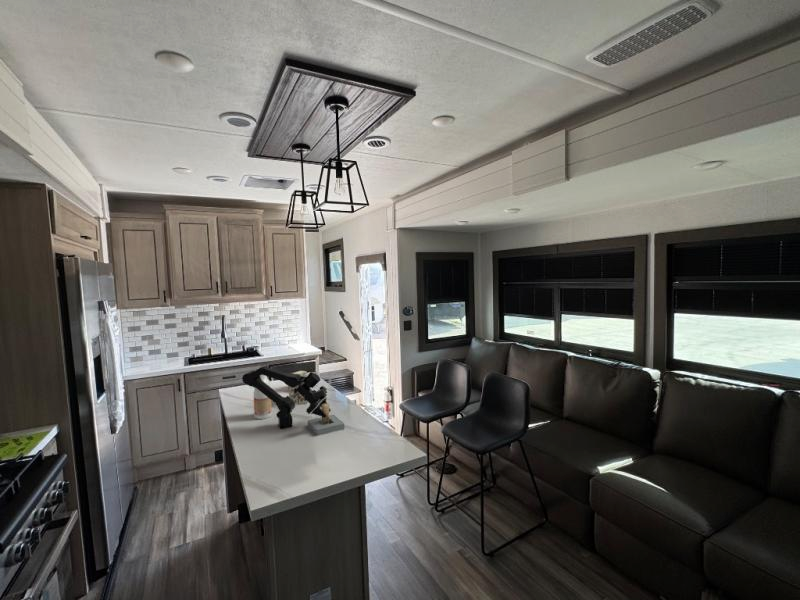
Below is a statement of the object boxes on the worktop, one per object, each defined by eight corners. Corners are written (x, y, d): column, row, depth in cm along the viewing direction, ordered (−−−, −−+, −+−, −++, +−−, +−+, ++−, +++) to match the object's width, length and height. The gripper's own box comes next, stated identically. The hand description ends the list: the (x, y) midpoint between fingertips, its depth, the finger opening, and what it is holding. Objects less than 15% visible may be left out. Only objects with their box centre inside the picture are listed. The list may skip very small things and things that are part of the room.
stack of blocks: (311, 383, 280) (311, 367, 279) (317, 385, 277) (316, 368, 276) (288, 391, 263) (287, 374, 262) (293, 392, 259) (293, 375, 258)
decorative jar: (288, 405, 234) (287, 377, 232) (289, 399, 245) (288, 372, 244) (308, 403, 237) (307, 376, 235) (308, 397, 248) (307, 371, 247)
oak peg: (325, 429, 197) (325, 406, 196) (320, 427, 200) (319, 405, 199) (331, 426, 201) (330, 404, 200) (325, 425, 203) (325, 402, 202)
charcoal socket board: (317, 435, 190) (317, 430, 190) (307, 425, 203) (307, 420, 202) (344, 428, 198) (344, 423, 198) (333, 419, 211) (333, 414, 210)
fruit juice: (262, 420, 210) (260, 372, 208) (250, 417, 215) (248, 370, 213) (275, 414, 219) (273, 368, 217) (263, 412, 223) (261, 366, 221)
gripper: (311, 388, 190) (333, 410, 189) (322, 378, 208) (342, 398, 208) (297, 403, 191) (318, 424, 191) (309, 391, 210) (329, 411, 209)
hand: (328, 414), depth 200 cm, fingers open, 8 cm apart
